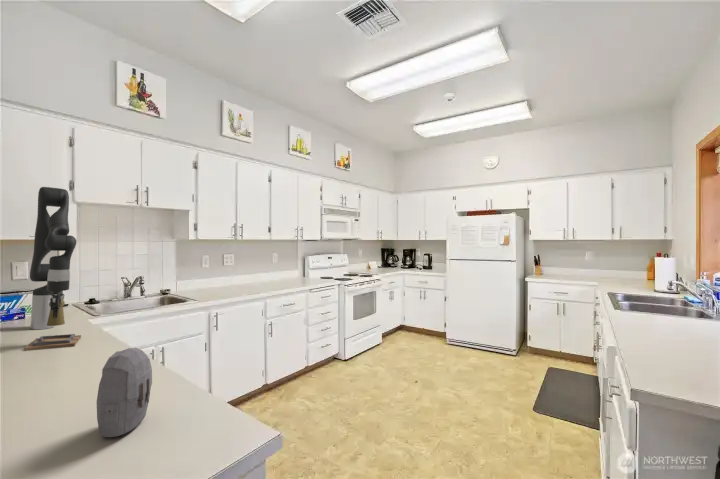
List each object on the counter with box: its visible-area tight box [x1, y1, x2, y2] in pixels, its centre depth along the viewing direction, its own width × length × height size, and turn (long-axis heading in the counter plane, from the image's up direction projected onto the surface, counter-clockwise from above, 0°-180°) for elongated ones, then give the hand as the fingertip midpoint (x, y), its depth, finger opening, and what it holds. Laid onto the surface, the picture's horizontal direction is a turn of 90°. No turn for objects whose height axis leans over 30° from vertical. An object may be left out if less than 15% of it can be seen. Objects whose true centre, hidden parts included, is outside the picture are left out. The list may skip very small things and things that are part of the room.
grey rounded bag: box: [96, 347, 153, 438], centre depth 87 cm, size 15×8×20 cm, turn 4°
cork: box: [47, 299, 66, 327], centre depth 154 cm, size 6×6×11 cm
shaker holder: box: [24, 333, 82, 352], centre depth 153 cm, size 16×16×2 cm
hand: (56, 318), depth 154 cm, fingers closed on cork, 2 cm apart
